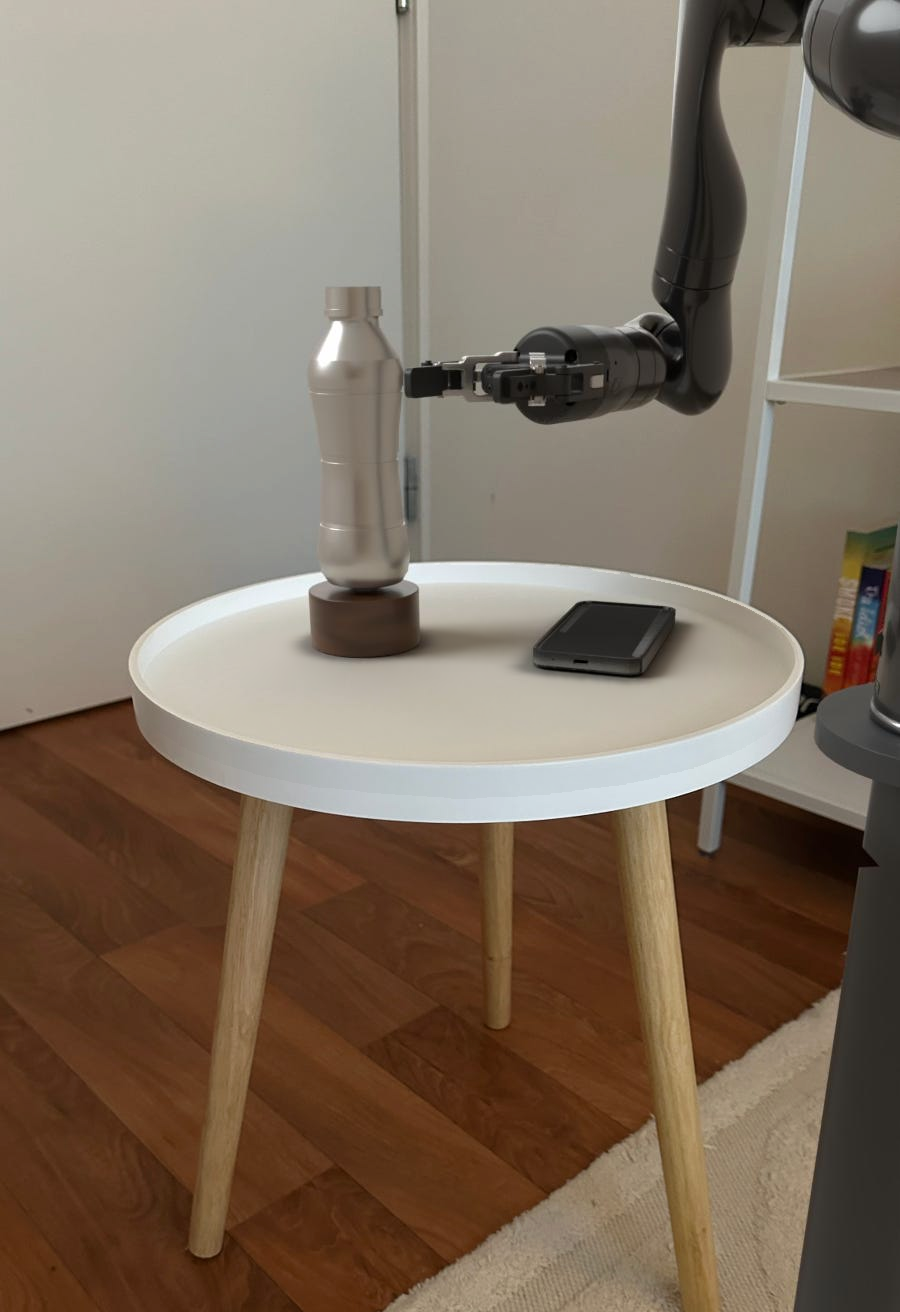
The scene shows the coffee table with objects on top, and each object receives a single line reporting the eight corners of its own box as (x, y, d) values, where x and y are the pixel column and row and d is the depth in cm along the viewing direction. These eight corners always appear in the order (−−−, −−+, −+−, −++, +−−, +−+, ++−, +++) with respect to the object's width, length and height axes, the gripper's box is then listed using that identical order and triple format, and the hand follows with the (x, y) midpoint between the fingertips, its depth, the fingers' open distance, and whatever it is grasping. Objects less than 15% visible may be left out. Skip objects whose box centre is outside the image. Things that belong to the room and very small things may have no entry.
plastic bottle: (395, 601, 80) (386, 285, 72) (304, 595, 82) (286, 287, 74) (422, 580, 86) (417, 286, 78) (337, 575, 88) (323, 287, 80)
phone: (678, 607, 89) (642, 659, 76) (677, 621, 90) (641, 676, 77) (578, 599, 92) (526, 649, 79) (577, 613, 92) (526, 665, 79)
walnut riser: (439, 635, 87) (439, 583, 85) (381, 663, 81) (380, 606, 79) (351, 623, 91) (349, 572, 89) (289, 648, 84) (285, 593, 83)
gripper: (507, 324, 99) (378, 329, 88) (651, 325, 91) (530, 331, 80) (506, 416, 102) (381, 432, 91) (646, 425, 94) (528, 444, 83)
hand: (451, 385), depth 85 cm, fingers open, 8 cm apart
